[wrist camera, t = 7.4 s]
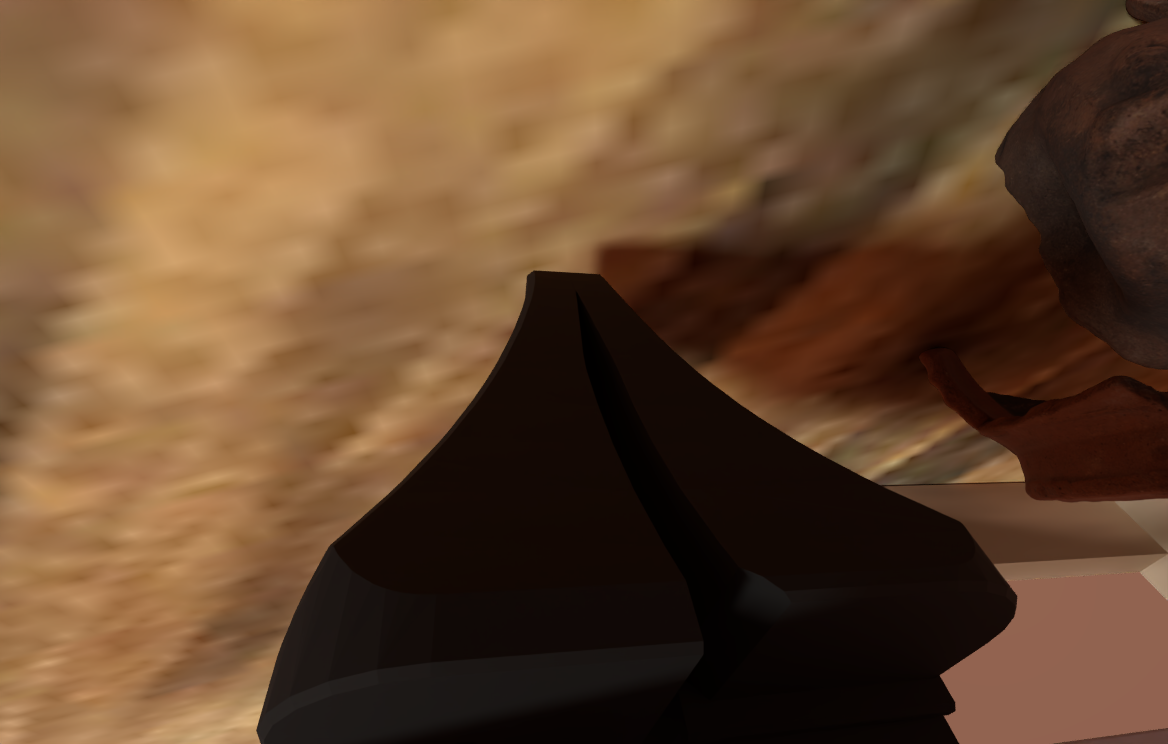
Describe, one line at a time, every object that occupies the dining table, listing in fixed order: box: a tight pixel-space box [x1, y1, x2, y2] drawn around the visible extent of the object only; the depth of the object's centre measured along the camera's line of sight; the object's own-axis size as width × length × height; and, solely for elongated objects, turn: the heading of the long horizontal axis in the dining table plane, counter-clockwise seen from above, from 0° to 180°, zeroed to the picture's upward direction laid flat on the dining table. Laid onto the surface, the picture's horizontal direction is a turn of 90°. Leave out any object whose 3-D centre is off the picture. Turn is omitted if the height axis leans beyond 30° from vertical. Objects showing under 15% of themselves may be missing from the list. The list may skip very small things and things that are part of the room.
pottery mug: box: [919, 0, 1168, 503], centre depth 10 cm, size 12×10×8 cm
